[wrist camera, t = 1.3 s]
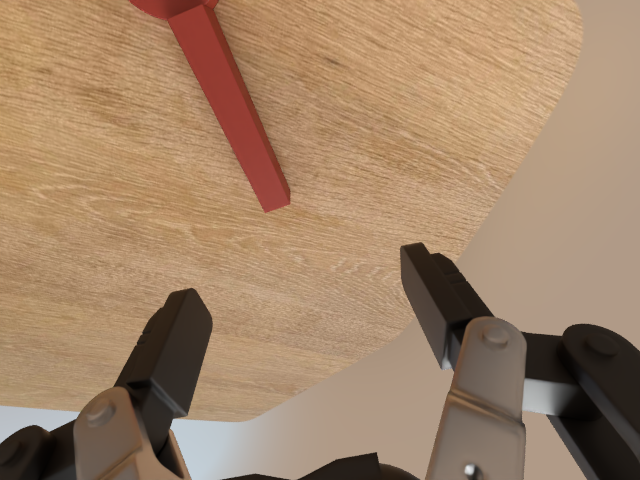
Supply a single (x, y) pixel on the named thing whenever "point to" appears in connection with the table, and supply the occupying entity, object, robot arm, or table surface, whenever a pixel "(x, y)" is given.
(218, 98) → the red flat paddle piece
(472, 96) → the table surface
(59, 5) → the table surface
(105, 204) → the table surface
